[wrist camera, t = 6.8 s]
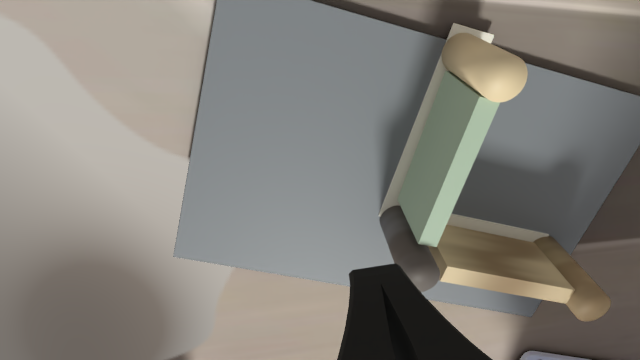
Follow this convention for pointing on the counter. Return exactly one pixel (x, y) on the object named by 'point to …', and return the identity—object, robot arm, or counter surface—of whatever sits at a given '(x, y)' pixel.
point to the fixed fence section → (494, 265)
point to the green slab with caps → (456, 130)
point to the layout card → (376, 147)
